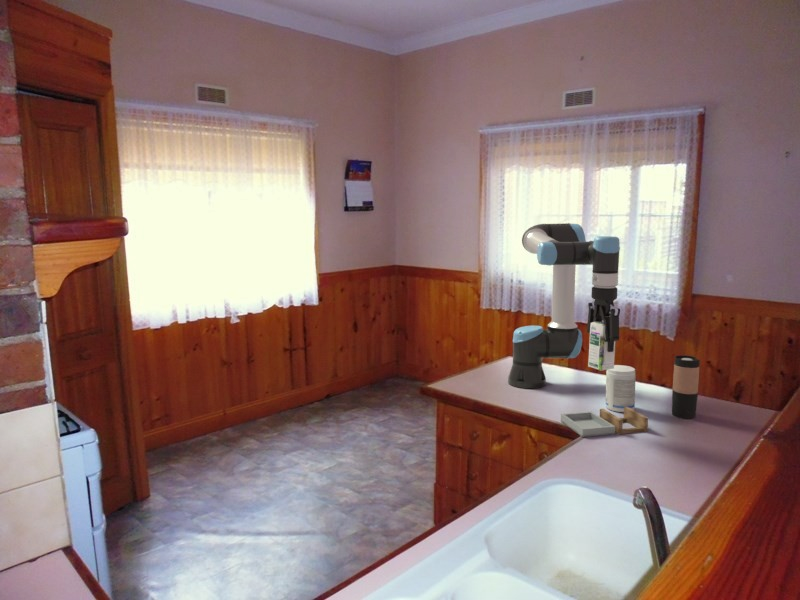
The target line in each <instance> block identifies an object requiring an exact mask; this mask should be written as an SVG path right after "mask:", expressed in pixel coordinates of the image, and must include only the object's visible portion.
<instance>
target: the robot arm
mask: <svg viewBox="0 0 800 600" xmlns="http://www.w3.org/2000/svg"><path fill="white" fill-rule="evenodd" d="M521 245H522V246H523V248H524V250H525V251H527V252H529V253H530V254H533V255H535V254H536V259H537V261H538V264H540V265H542V266H552V289H551V290H552V293H551V294H552V295H551V296H552V297H551V321H550V322H549V323H548V324H547V329H544V327H543V326H540V325H525V326H520V327H518V328H516V329H515V330H514V331H513V337H512V365H511V368H510V370H509V374H508V376H507V384H508V385H511V386H512V387H516V388H520V389H539V388H542V387H545V386H546V384H547V378H546V375H545V371H544V368H543V359H565V360H567V359H574V358H577V357H578V356H579V354H580V352H581V350H582V345H583V333H582V331H581V330H580V329H578V324H576V322H575V321H574V320H575V318H574V317H575V299H576V298H575V295H576V293H575V292H576V267H577V266H582V265H583V266H585V265H586V266H591V265H592V276H591V285H592V287H591V299H592V300H594V301H593V302H588V304H587V307H588V313H587V314H588V317H587V324H586V325H587V327H586V332H587V333H588V334H590V323H592V322H604V325H605V335H606V340H604V361H603V362H613V351H614V341H615V342H616V341H619V340H620V314H621V313H620V312H621V308H619V307H618V308H616V307H615V303H614V301H615V300H617V298H618V287H617V286H619V265H620V264H619V263H620V251H621V246H620V239H619V237H618V236H610V235H609V236H605V235H604V236H603V235H602V236H601V235H600V236H596V237H594V239H593V240H589V241H586V234H585V232H584V229H583V226H582V225H580V224H578V223H572V222H571V223H570V222H568V223H538V224H534V225H533V226H530V227H529V228H528V229H527V230H525V231H524V233H523V235H522V237H521ZM576 265H577V266H576Z"/></svg>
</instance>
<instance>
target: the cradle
mask: <svg viewBox="0 0 800 600" xmlns="http://www.w3.org/2000/svg"><path fill="white" fill-rule="evenodd" d="M599 417H601V418H603V419H604V420H606V421H607V422H609V423H610V424H612V425H614V426H615V434H617V435H623V434H630V433H631V434H633V433H647V432H648V428H649V427H648V426H649V417H647V416H646V415H643V414H642V413H641V412H639V411H638V412H637V411H636V410H635V409H634V410H633V409H631V408H629V407H624V412H623V417H618V416H616V415H615V414H613V413H612V412H610V411H608V410H607V409H605V408H599ZM625 422H626V423H627V424H630V425H631V426H633V427H631V428H623V424H624V423H625Z"/></svg>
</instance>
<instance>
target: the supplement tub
mask: <svg viewBox="0 0 800 600" xmlns="http://www.w3.org/2000/svg"><path fill="white" fill-rule="evenodd" d="M605 372H606V373H605V375H606V376H605V377H606V378H605V407H606V409H608V410H609V411H613V412H618V413H624V407H629V408H631V409H633V410H634V411H635V406H636V400H635V399H636V368H634V367H632V366H629V365H621V364H614V368H613V369H608V370H605Z"/></svg>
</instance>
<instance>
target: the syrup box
mask: <svg viewBox="0 0 800 600" xmlns="http://www.w3.org/2000/svg"><path fill="white" fill-rule="evenodd" d="M604 340H606V335H605V325H604V321H602V322H592V323H590V333H589V343H588V344H589V348H588V363H587V365H588V366H587V367H588V368H592V369H595V370H598V371H607V370H608V369H613V368H614V365H615V357H616V356H615V355H616V341H614V351H613V362H603V361H604Z"/></svg>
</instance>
